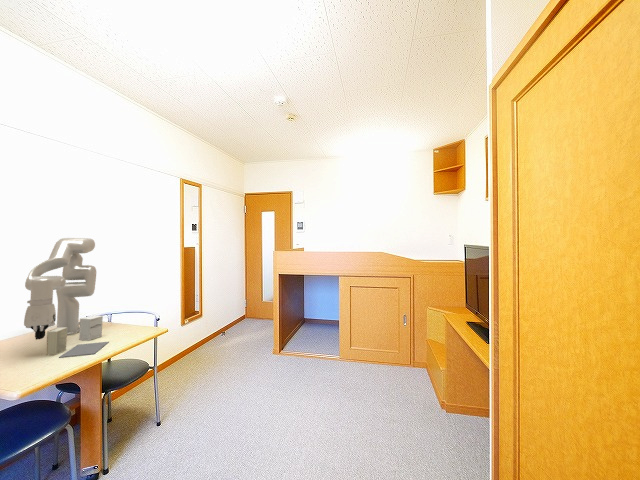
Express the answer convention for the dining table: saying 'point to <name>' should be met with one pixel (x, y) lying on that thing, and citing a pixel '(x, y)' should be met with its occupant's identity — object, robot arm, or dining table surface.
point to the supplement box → (90, 327)
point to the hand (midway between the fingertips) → (39, 338)
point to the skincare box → (56, 341)
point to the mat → (84, 349)
